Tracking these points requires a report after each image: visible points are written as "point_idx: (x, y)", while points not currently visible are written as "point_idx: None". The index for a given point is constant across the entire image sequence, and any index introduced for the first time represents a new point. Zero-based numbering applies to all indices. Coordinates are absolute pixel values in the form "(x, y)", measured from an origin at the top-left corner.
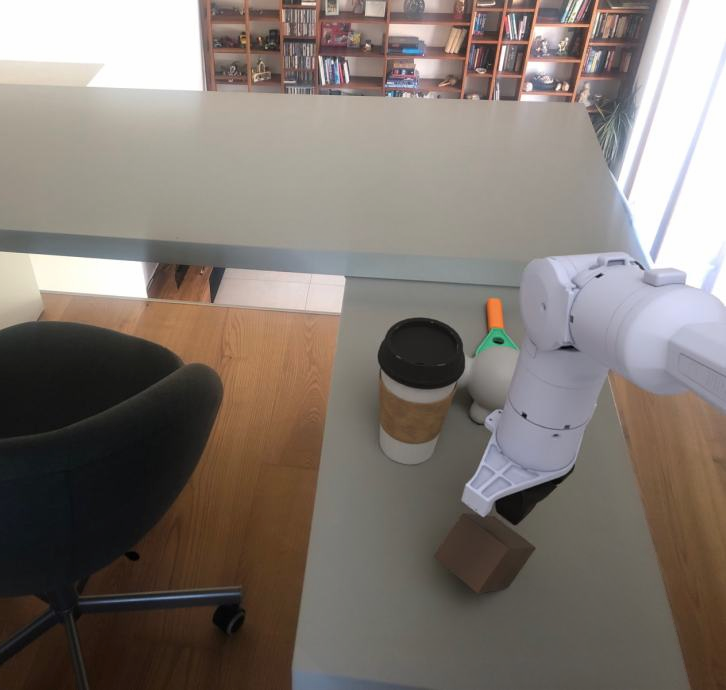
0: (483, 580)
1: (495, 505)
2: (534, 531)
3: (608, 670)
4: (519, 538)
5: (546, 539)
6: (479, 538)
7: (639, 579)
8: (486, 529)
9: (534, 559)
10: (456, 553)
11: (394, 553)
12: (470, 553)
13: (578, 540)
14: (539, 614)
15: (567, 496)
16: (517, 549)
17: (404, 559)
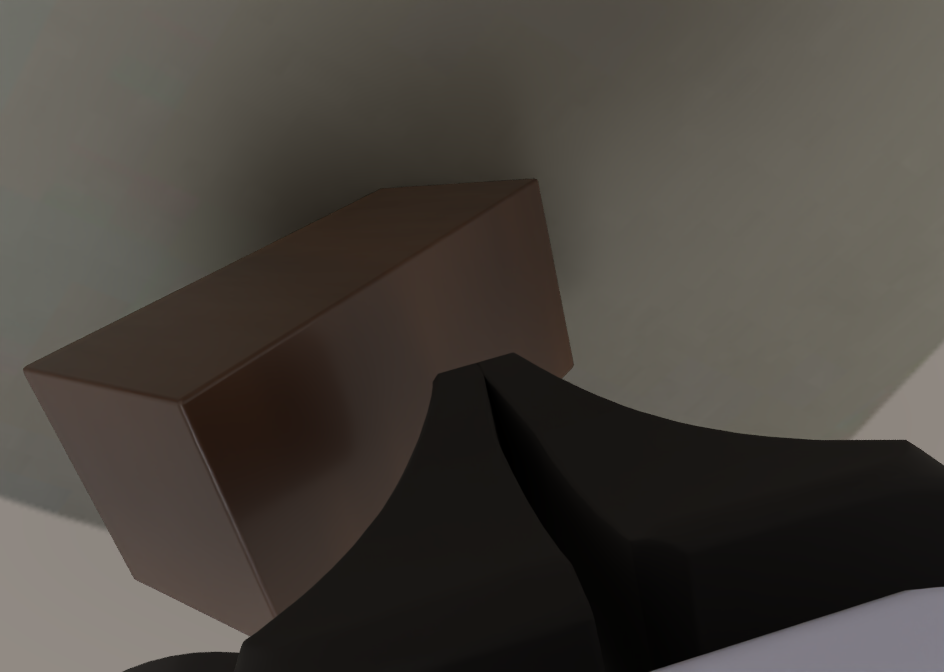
0: (164, 587)
1: (433, 390)
2: (664, 216)
3: None
4: (526, 355)
5: (672, 260)
6: (204, 526)
7: None
8: (260, 522)
9: (579, 303)
10: (102, 456)
11: (97, 39)
12: (151, 511)
13: (753, 307)
14: None
15: (876, 152)
16: None
17: (127, 86)
